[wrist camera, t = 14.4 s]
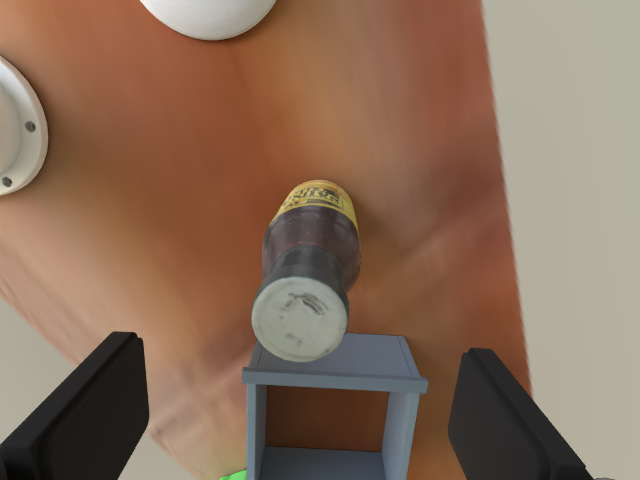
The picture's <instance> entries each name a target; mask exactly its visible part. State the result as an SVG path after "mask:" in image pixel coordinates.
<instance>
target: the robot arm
mask: <svg viewBox="0 0 640 480" xmlns="http://www.w3.org/2000/svg"><path fill="white" fill-rule="evenodd" d="M47 148H48V128H47V122H46V118H45V114H44V111H43V108H42V106H41V104H40V101H39V99H38V97H37V95H36V93H35V92H34V90H33V89H32V87H31V86H30V84H29V83H28V81H27V80H26V79H25V78H24V77H23V75H22V74H21V73H20V72H19V71H18V70H17V69H16V68H15V67H14V66H13V65H11V64H10V63H9V62H8V61H7V60H5V59H4V58H3V57H1V56H0V196H1V195H6V194H9V193H12V192H15V191H17V190H19V189H21V188H23V187H24V186H26V185H27V184H29V183H30V182H31V181H32V180H33V178H34V177H35V176H36V175H37V174H38V172H39V171H40V169H41V167H42V165H43V163H44V160H45V157H46V154H47ZM148 421H149V404H148V392H147V381H146V369H145V357H144V345H143V340H142V338H138V337H137V334H136V333H134V332H116V331H115V332H112V333H111V334H110V335H109V336H108V337H107V338H106V339H105V340H104V341H103V342H102V343H101V344H100V345H99V346H98V347H97V348H96V349H95V350H94V351H93V352H92V353H91V354H90V355H89V356H88V357H87V358H86V359H85V360H84V361H83V362H82V363H81V364H80V365H79V366H78V367H77V368H76V369H75V370H74V371H73V372H72V373H71V374H70V375H69V376H68V377H67V378H66V379H65V380H64V381H63V382H62V383H61V384H60V385H59V386H58V387H57V388H56V389H55V390H54V391H53V392H52V393H51V394H50V395H49V396H48V397H47V398H46V399H45V400H44V401H43V402H42V403H41V404H40V405H39V406H38V407H37V408H36V409H35V410H34V411H33V412H32V413H31V414H30V415H29V416H28V417H27V418H26V420H24V421H23V422H22V424H20V425H19V426H18V427H17V428H16V429H15V430H14V431H13V432H12V433H11V434H10V435H9V436H8V437H7V438H6V439H5V440H4V441H3V442H2V443H1V444H0V480H118V478H119V476H120V474H121V472H122V471H123V469H124V467H125V465H126V463H127V461H128V460H129V458H130V456H131V455H132V453H133V451H134V449H135V447H136V446H137V444H138V442H139V440H140V439H141V437H142V435H143V433H144V431H145V430H146V428H147V425H148ZM448 435H449V439H450V442H451V444H452V446H453V449H454V451H455V453H456V456H457V458H458V460H459V463H460V465H461V467H462V469H463V472H464V474H465V476H466V479H467V480H614V479H609V478H596V479H593V478H592V477H591V475H590V474H589V473H588V471H587V470H586V469H585V467H586V466H585V464H584V463H583V462H582V461H581V459H580V458H579V457H578V456H577V454H575V452H574V451H573V450H572V448H571V447H570V446H569V445H568V443H567V442H566V441H565V440H564V438H563V437H562V436H561V435H560V433H559V432H558V431H557V430H556V429H555V427H554V426H553V425H552V423H551V422H550V421H549V420H548V418H547V417H546V416H545V415H544V413H543V412H542V411H541V410H540V409H539V407H538V406H537V405H536V404H535V402H534V401H533V400H532V399H531V397H530V396H529V395H528V394H527V392H526V391H525V390H524V389H523V387H522V386H521V385H520V384H519V382H518V381H517V380H516V379H515V377H514V376H513V375H512V374H511V372H510V371H509V370H508V369H507V368H506V366H505V365H504V364H503V363H502V361H501V360H500V359H499V358H498V356H497V355H496V354H495V353H494V351H493V350H491V349H483V348H470V349H469V350H468V353H463V355H462V358H461V363H460V368H459V373H458V378H457V383H456V389H455V394H454V399H453V404H452V409H451V414H450V419H449V424H448Z"/></svg>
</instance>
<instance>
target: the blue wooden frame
mask: <svg viewBox="0 0 640 480" xmlns="http://www.w3.org/2000/svg"><path fill="white" fill-rule="evenodd" d="M242 383H244V384H247V448H246V480H406V477H407V471H408V465H409V459H410V453H411V447H412V441H413V435H414V429H415V422H416V416H417V410H418V404H419V398H420V393H425V394H426V393H427V388H428V383H429V381H428V379H427V377H421V376H420V374H419V371H418V369H417V366H416V364H415V361H414V359H413V356H412V354H411V351H410V349H409V347H408V344H407V342H406V339H405V337H404V336H391V335H373V334H356V333H345V335H344V338H343V340H342V342H341V343H340V345H339V346H338V347H337V348H336V349H335V350H334V351H333V352H331V353H330V354H328V355H326V356H323V357H321V358H319V359H317V360H314V361H310V362H293V361H290V360H284V359H282V358H281V357H278V356H276V355H274V354H272V353H271V352H270V351H268V350H267V349H266V348H265V347H264V346H263V345H262V344H261V343H260V342H259V340H258V338H257V341H256V344H255V347H254V350H253V354H252V357H251V360H250V363H249V367H243V370H242ZM267 385H280V386H298V387H316V388H334V389H353V390H371V391H389V398H388V405H387V413H386V420H385V427H384V435H383V442H382V449H381V452H367V451H349V450H330V449H311V448H292V447H273V446H265V436H266V396H267Z"/></svg>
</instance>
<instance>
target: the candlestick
mask: <svg viewBox="0 0 640 480" xmlns="http://www.w3.org/2000/svg"><path fill="white" fill-rule="evenodd" d="M140 1H141V2H142V3H143V5H144V6H145V7H146V8H147V9H148V10H149V11H150V12H151V13H152V14H153V15H154V16H155V17H156V18H157V19H159V20H160V21H161V22H162V23H164V24H165V25H167V26H168V27H170V28H172V29H173V30H175V31H177V32H179V33H181V34H183V35H186V36H189V37H192V38H196V39H202V40H222V39H228V38H231V37H235V36H237V35H240V34H242V33H244V32H246V31H248V30H249V29H251V28H252V27H254V26H255V25H256V24H257V23H259V22H260V21H261V20H262V19H263V18H264V17H265V16H266V15H267V13H268V12H269V11H270V10H271V8H272V7H273V5H274V4H275V2H276V0H140Z"/></svg>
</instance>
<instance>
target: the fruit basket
mask: <svg viewBox="0 0 640 480" xmlns="http://www.w3.org/2000/svg"><path fill="white" fill-rule="evenodd" d="M220 480H246V470H243V471H240V472H237V473H234V474H232V475H230V476H224V477H222V478H221V479H220Z"/></svg>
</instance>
